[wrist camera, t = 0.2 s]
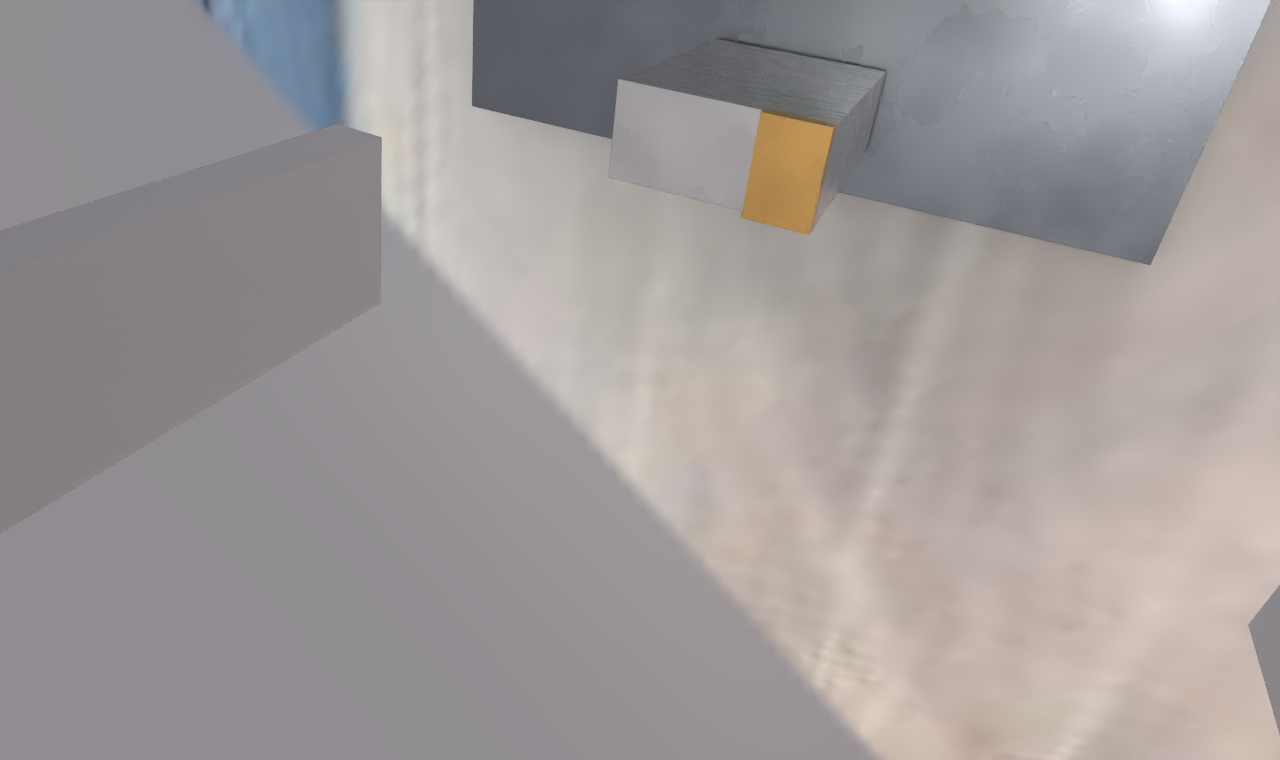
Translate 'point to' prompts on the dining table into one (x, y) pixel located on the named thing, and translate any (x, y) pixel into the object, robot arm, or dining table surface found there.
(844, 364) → the dining table surface
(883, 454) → the dining table surface
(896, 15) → the board
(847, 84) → the banded metal block
